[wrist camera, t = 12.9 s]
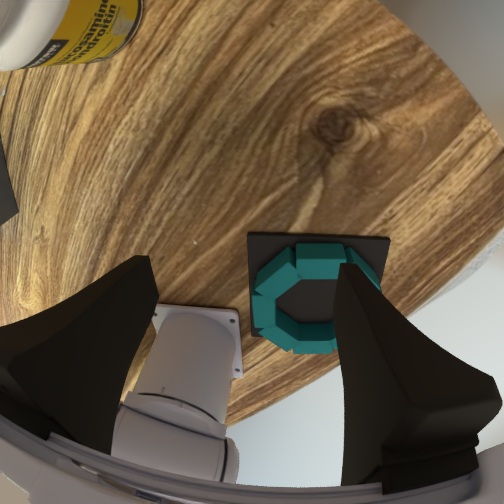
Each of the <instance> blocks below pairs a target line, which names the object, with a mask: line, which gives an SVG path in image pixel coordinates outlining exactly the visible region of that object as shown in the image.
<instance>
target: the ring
mask: <svg viewBox="0 0 504 504" xmlns="http://www.w3.org/2000/svg"><path fill="white" fill-rule="evenodd" d="M340 263H357V265H358V266H359V267H360V268H361V269H362V270H363V272H364V273H365V274H366V275H367V276H368V278H369V279H370V280H371V281H372V282H373V284H374V285H375V286H376V287H377V288H378V289H379V291H380V292H381V293H382V291H381V287H380V284H379V281H378V279H377V276H376V273H375V272H374V271H373V270H372V268H371V267H370V266H369V265H368V264H367V263H366V262H365V261H364V260H363V259H362V258H361V257H360V256H359V255H358V254H357V253H356V252H355V251H354V250H353V249H352V248H351V247H348V248H347V249H346V250H344V248H343V245H342V244H341V243H297V244H296V253H295V252H294V251H293V250H292V249H291V248H290V247H287V248H286V249H284V250H283V251H282V252H281V253H280V254H279V255H277V256H276V257H275V258H274V259H273V260H272V261H271V262H269V263H268V264H267V265H266V266H265V267H264V268H262V269H261V270H260V271H259V272H258V273H257V278H256V279H255V280H254V285H253V291H252V306H253V317H254V327H255V328H258V333H259V334H260V335H262V336H263V337H265V338H266V339H268V340H269V341H271V342H273V343H274V344H276V345H277V346H279V347H280V348H282V349H283V350H285V351H286V352H288V351H289V350H291V349H292V348H293V353H294V354H323V353H332V351H333V348H335V349H336V350H337V351H338V348H337V342H336V336H335V331H334V320H333V321H331V322H330V323H304V324H302V323H297V322H296V321H294V320H293V319H291V318H290V317H289V316H287V315H286V314H285V313H283V312H282V311H280V310H279V309H278V308H277V298H278V297H279V296H280V295H281V294H283V293H284V292H285V291H287V290H288V289H289V288H291V287H292V286H293V285H294V284H296V283H297V282H298V281H300V280H301V279H338V273H339V267H340Z"/></svg>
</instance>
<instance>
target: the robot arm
mask: <svg viewBox="0 0 504 504" xmlns="http://www.w3.org/2000/svg"><path fill="white" fill-rule="evenodd" d="M158 299H159V294H158V290H157V286H156V283H155V279H154V275H153V271H152V267H151V263H150V258H149V256H143V255H135V256H133V257H131V258H129V259H128V260H126V261H124V262H123V263H121V264H120V265H118V266H117V267H115V268H114V269H112V270H111V271H109V272H108V273H106V274H105V275H104V276H102V277H101V278H99V279H98V280H96V281H95V282H93V283H92V284H90V285H88V286H87V287H85V288H84V289H82V290H81V291H79V292H78V293H76V294H74V295H73V296H71V297H69V298H68V299H66V300H64V301H62V302H60V303H58V304H57V305H55V306H53V307H51V308H49V309H46V310H44V311H42V312H40V313H38V314H35V315H33V316H31V317H28V318H26V319H23V320H20V321H17V322H15V323H12V324H8V325H5V326H1V327H0V473H2V474H3V475H4V476H5V477H6V478H8V479H9V480H10V481H12V482H13V483H14V484H15V485H16V486H18V487H19V488H20V489H22V490H23V491H24V492H26V493H27V494H28V495H30V496H29V499H28V500H29V502H30V504H504V443H502V444H500V445H497V446H494V447H492V448H489V449H486V450H484V451H482V452H480V453H478V454H477V455H476V450H475V447H476V446H477V445H478V444H479V439H478V435H477V434H478V433H479V432H480V431H481V430H482V429H483V428H484V427H485V426H486V425H487V424H488V423H489V422H490V421H491V420H493V419H494V417H495V416H496V415H497V414H498V413H499V411H500V409H501V407H502V398H501V396H500V393H499V390H498V388H497V385H496V383H495V380H494V378H493V377H492V376H490V375H488V374H486V373H484V372H482V371H480V370H478V369H476V368H474V367H472V366H470V365H468V364H467V363H465V362H463V361H462V360H460V359H458V358H457V357H455V356H454V355H452V354H450V353H449V352H448V351H446V350H444V349H443V348H442V347H440V346H439V345H438V344H436V343H435V342H433V341H432V340H431V339H429V338H428V337H427V336H426V335H424V334H423V333H422V332H421V331H420V330H418V329H417V328H416V327H415V326H414V325H413V324H412V323H410V322H409V321H408V320H407V319H406V318H405V317H404V316H403V315H402V314H401V313H400V312H399V311H398V310H397V309H396V308H395V307H394V306H393V305H392V304H391V303H390V302H389V301H388V300H387V298H386V297H385V296H384V295H383V294H382V293H381V292H380V291H379V289H378V288H377V287H376V286H375V285H374V284H373V282H372V281H371V280H370V279H369V278H368V276H367V275H366V274H365V273H364V272H363V270H362V269H361V268H360V267H359V266H358V265H357V263H340V267H339V273H338V279H337V285H336V291H335V297H334V302H333V318H334V331H335V336H336V342H337V348H338V354H339V359H340V365H341V371H342V378H343V386H344V421H345V422H344V452H343V466H342V478H341V486H336V487H309V488H293V487H292V488H291V487H266V486H265V487H264V486H252V485H242V484H241V485H240V484H236V480H237V476H238V469H239V452H238V449H237V448H236V446H235V443H234V441H233V440H232V439H230V438H227V437H225V434H226V429H227V425H225V424H224V422H225V417H226V412H227V407H228V402H229V396H230V391H231V386H232V380H233V378H242V377H243V362H242V350H241V338H240V326H239V314H238V312H237V311H235V310H232V309H217V308H203V307H190V306H179V305H167V304H157V302H158ZM155 312H156V313H155ZM231 319H234V320H231ZM151 320H152V321H153V324H154V327H155V330H156V333H157V336H156V338H155V340H154V342H153V345H152V347H151V349H150V352H149V354H148V356H147V359H146V361H145V363H144V366H143V368H142V370H141V373H140V375H139V377H138V380H137V382H136V385H135V387H134V390H133V392H130V391H128V393H127V396H126V398H125V400H124V403H123V401H120V398H121V394H122V390H123V387H124V383H125V380H126V377H127V374H128V371H129V368H130V365H131V363H132V360H133V358H134V356H135V354H136V352H137V350H138V347H139V345H140V343H141V341H142V339H143V337H144V335H145V333H146V331H147V328H148V326H149V324H150V322H151ZM80 466H81V467H84V468H85V469H83V468H81V467H80Z"/></svg>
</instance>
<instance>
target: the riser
mask: <svg viewBox="0 0 504 504" xmlns="http://www.w3.org/2000/svg"><path fill="white" fill-rule="evenodd" d="M17 213H18V208H17V205H16V202H15V198H14V195H13V191H12V187H11V183H10V179H9V175H8V171H7V167H6V162H5V157H4V153H3V147H2V142H1V136H0V226H1V225H2V224H4V223H5V222H6V221H8V220H9V219H10V218H12V217H13V216H14V215H16V214H17Z"/></svg>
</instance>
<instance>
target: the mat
mask: <svg viewBox="0 0 504 504" xmlns="http://www.w3.org/2000/svg"><path fill="white" fill-rule="evenodd" d="M390 241H391V240H390V238H383V237H362V236H338V235H312V234H282V233H248V234H247V244H248V268H249V292H250V315H251V336H253V337H263V336H262V335H260V334H259V333H258V328H255V327H254V317H253V306H252V291H253V285H254V280H255V279H256V278H257V273H258V272H259V271H260V270H261V269H262V268H264V267H265V266H266V265H267V264H268V263H269V262H271V261H272V260H273V259H274V258H275V257H276V256H277V255H279V254H280V253H281V252H282V251H283V250H284V249H286V248H287V247H290V248H291V249H292V250H293V251H294V252H295V253H296V244H297V243H341V244H342V245H343V248H344V250H346V249H347V248H348V247H351V248H352V249H353V250H354V251H355V252H356V253H357V254H358V255H359V256H360V257H361V258H362V259H363V260H364V261H365V262H366V263H367V264H368V265H369V266H370V267H371V268H372V270H373V271H374V272H375V273H376V276H377V279H378V281H379V284H380V283H381V279H382V275H383V271H384V267H385V263H386V259H387V255H388V250H389V246H390ZM336 285H337V279H301V280H300V281H298V282H297V283H296V284H294V285H293V286H292V287H291V288H289V289H288V290H287V291H285V292H284V293H283V294H281V295H280V296H279V297H278V298H277V308H278V309H279V310H280V311H282V312H283V313H285V314H286V315H287V316H289V317H290V318H291V319H293V320H294V321H296V322H297V323H302V324H304V323H330V322H331V321H333V320H334V318H333V302H334V297H335V291H336Z"/></svg>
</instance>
